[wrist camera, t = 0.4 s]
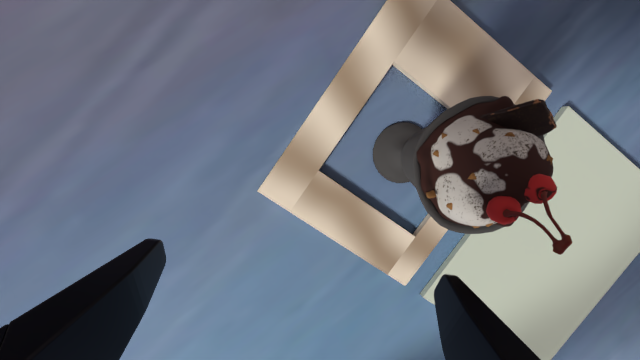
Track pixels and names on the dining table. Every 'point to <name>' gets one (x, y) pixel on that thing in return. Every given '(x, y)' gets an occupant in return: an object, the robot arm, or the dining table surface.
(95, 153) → the dining table surface
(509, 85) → the wooden picture frame
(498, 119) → the sundae
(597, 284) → the stub pad
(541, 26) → the dining table surface
